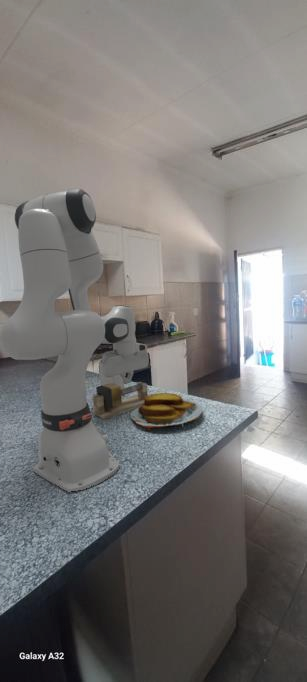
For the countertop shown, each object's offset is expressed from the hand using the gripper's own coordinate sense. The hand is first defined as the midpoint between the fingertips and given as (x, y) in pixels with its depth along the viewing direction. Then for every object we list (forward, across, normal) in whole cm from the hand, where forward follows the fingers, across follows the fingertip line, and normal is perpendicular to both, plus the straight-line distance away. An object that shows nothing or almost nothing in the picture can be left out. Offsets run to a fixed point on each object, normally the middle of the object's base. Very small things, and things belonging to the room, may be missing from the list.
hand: (127, 383), depth 114 cm
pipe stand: (+9, -4, -1) cm, 9 cm away
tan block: (+6, -8, -1) cm, 10 cm away
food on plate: (+9, +2, -20) cm, 22 cm away
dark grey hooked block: (+6, -11, -1) cm, 13 cm away
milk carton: (+9, +2, +13) cm, 16 cm away
